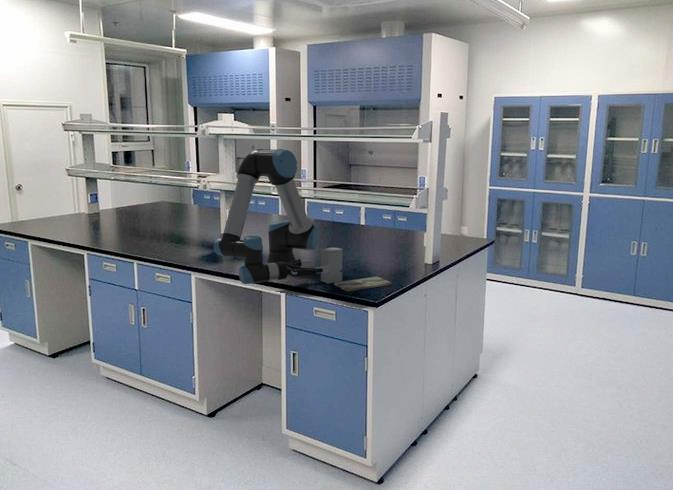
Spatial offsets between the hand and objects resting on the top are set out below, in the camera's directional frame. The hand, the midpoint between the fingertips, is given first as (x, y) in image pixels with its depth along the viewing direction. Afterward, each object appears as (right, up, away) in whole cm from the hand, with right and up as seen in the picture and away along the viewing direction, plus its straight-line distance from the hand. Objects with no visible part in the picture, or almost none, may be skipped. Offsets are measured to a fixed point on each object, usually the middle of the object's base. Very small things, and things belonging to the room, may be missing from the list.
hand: (321, 265), depth 240 cm
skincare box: (+4, -7, +4) cm, 10 cm away
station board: (+18, -8, -2) cm, 20 cm away
